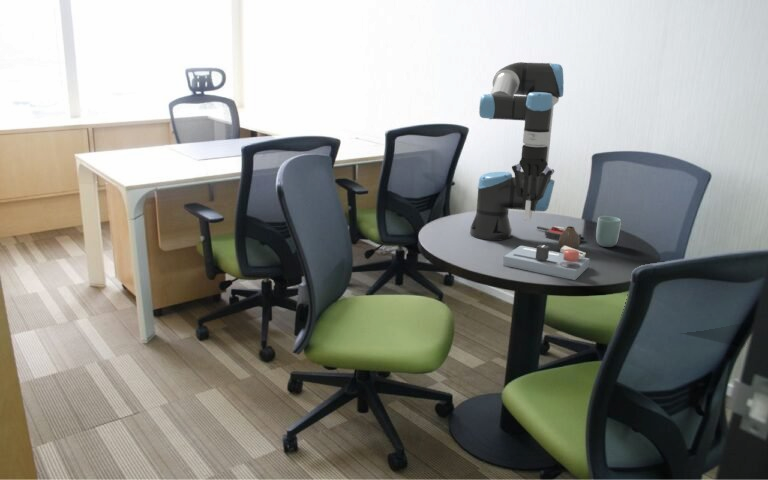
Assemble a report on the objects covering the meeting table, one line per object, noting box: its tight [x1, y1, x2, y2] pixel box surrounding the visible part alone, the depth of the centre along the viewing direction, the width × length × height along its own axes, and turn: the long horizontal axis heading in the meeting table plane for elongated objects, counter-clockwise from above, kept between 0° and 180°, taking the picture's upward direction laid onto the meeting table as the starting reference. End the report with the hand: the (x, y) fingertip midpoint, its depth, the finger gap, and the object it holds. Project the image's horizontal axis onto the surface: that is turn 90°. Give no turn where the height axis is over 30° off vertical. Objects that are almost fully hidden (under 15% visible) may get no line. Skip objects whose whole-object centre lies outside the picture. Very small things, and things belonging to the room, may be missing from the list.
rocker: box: [559, 246, 587, 259], centre depth 202 cm, size 7×4×1 cm, turn 58°
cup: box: [595, 215, 622, 248], centre depth 227 cm, size 8×8×10 cm
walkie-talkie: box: [536, 225, 585, 242], centre depth 237 cm, size 9×4×20 cm
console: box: [502, 245, 590, 281], centre depth 203 cm, size 23×15×4 cm, turn 58°
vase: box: [558, 225, 581, 250], centre depth 218 cm, size 7×7×9 cm
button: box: [563, 249, 580, 262], centre depth 194 cm, size 4×4×3 cm
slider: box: [536, 244, 550, 261], centre depth 199 cm, size 3×3×4 cm
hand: (527, 219), depth 199 cm, fingers closed
